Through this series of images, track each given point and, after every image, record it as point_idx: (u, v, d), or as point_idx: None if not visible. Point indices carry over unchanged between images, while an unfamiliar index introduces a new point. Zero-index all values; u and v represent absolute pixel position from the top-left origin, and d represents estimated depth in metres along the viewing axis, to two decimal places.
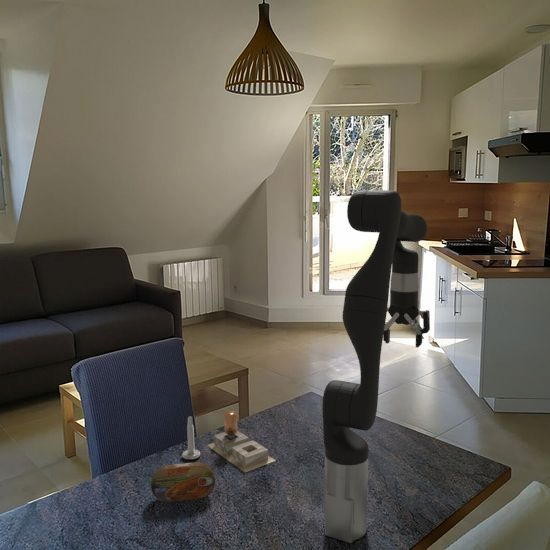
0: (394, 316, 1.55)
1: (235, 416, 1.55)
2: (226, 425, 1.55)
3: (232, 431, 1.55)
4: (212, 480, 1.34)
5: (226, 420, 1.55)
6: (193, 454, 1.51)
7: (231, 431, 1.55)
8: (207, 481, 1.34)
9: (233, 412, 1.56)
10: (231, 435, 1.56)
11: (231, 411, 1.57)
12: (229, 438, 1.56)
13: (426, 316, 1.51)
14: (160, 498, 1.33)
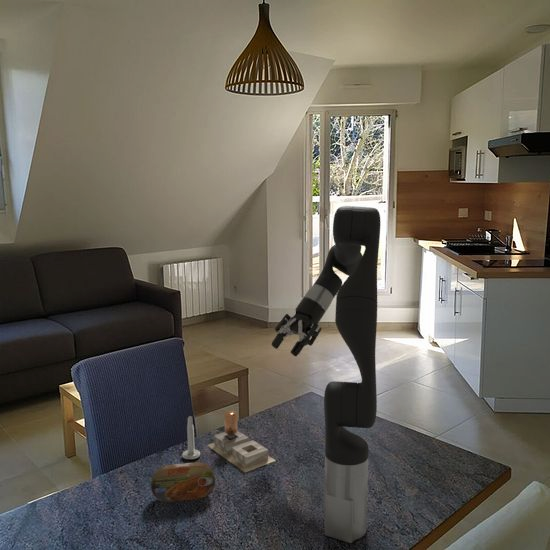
0: (291, 321, 1.57)
1: (235, 416, 1.55)
2: (226, 425, 1.55)
3: (232, 431, 1.55)
4: (212, 480, 1.34)
5: (226, 420, 1.55)
6: (193, 454, 1.51)
7: (231, 431, 1.55)
8: (207, 481, 1.34)
9: (233, 412, 1.56)
10: (231, 435, 1.56)
11: (231, 411, 1.57)
12: (229, 438, 1.56)
13: (314, 326, 1.51)
14: (160, 498, 1.33)
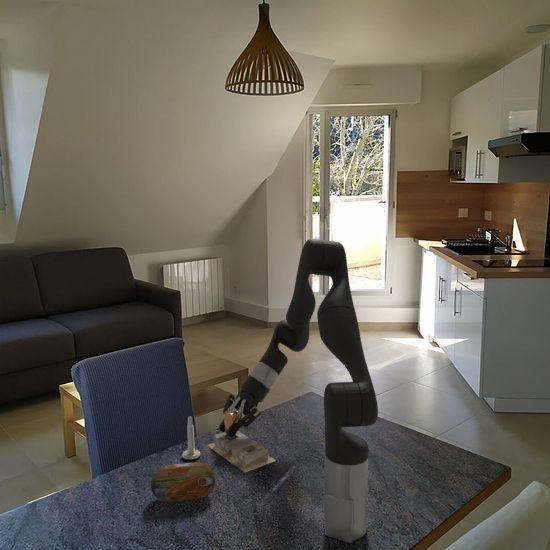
0: (236, 400, 1.59)
1: (235, 416, 1.55)
2: (226, 425, 1.55)
3: None
4: (212, 480, 1.34)
5: (226, 420, 1.55)
6: (193, 454, 1.51)
7: None
8: (207, 481, 1.34)
9: (233, 412, 1.56)
10: None
11: (231, 411, 1.57)
12: (229, 438, 1.56)
13: (252, 411, 1.53)
14: (160, 498, 1.33)
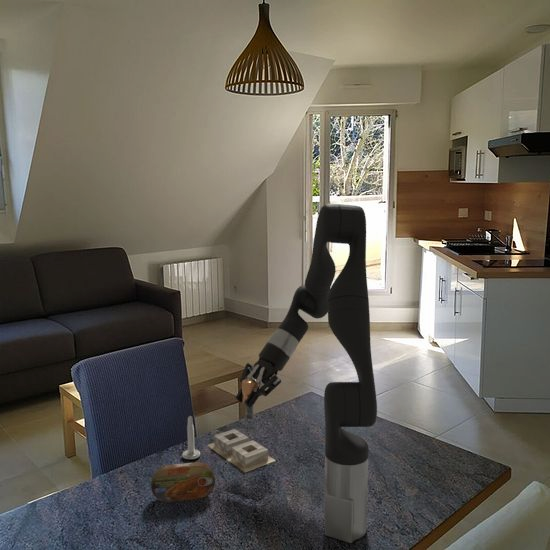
0: (254, 369, 1.49)
1: (253, 385, 1.46)
2: (244, 394, 1.46)
3: None
4: (212, 480, 1.34)
5: (244, 389, 1.46)
6: (193, 454, 1.51)
7: None
8: (207, 481, 1.34)
9: (251, 381, 1.47)
10: None
11: (249, 380, 1.48)
12: (247, 408, 1.47)
13: (272, 379, 1.44)
14: (160, 498, 1.33)
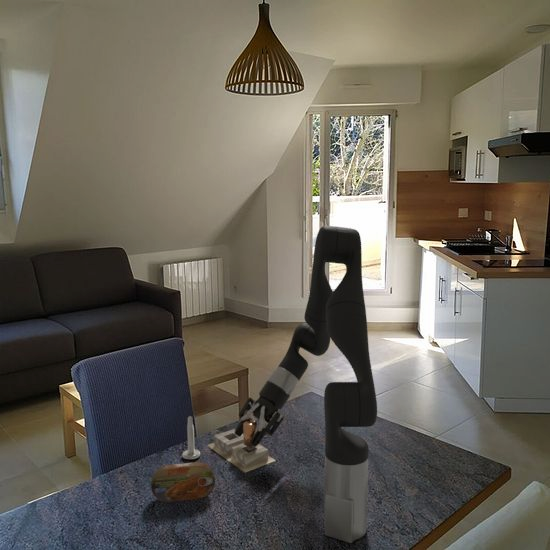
0: (254, 406, 1.52)
1: (255, 427, 1.48)
2: (245, 436, 1.48)
3: None
4: (212, 480, 1.34)
5: (245, 431, 1.48)
6: (193, 454, 1.51)
7: None
8: (207, 481, 1.34)
9: (253, 423, 1.49)
10: (250, 447, 1.49)
11: (250, 422, 1.50)
12: (248, 450, 1.49)
13: (275, 416, 1.46)
14: (160, 498, 1.33)
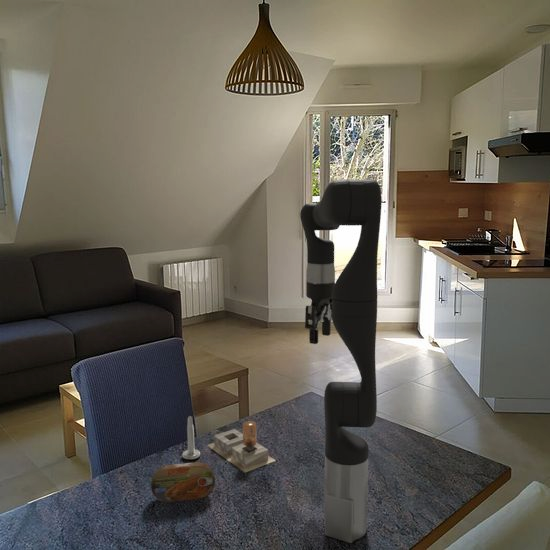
0: None
1: (254, 427, 1.48)
2: (245, 437, 1.48)
3: (251, 443, 1.48)
4: (212, 480, 1.34)
5: (245, 431, 1.48)
6: (193, 454, 1.51)
7: (250, 443, 1.48)
8: (207, 481, 1.34)
9: (252, 423, 1.49)
10: (250, 447, 1.49)
11: (250, 422, 1.50)
12: (248, 450, 1.49)
13: None
14: (160, 498, 1.33)
